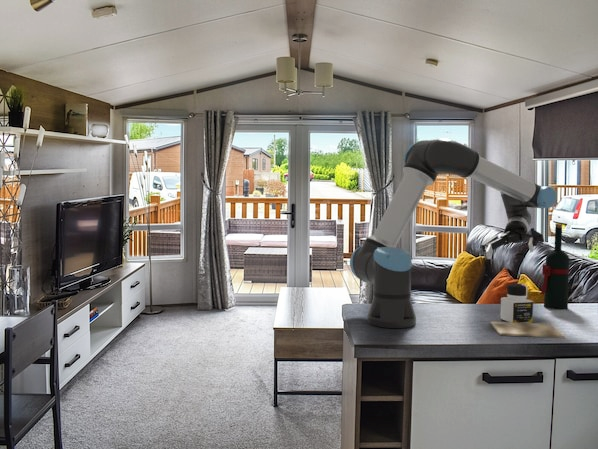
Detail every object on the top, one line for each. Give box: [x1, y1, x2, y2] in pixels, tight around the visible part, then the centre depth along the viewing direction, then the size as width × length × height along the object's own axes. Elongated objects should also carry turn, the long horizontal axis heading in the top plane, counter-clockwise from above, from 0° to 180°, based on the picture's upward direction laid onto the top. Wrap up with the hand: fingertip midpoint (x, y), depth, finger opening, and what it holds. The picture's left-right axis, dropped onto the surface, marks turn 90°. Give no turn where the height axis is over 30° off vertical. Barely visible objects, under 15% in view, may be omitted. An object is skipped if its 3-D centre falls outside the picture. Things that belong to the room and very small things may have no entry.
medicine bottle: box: [499, 282, 534, 323], centre depth 182 cm, size 7×7×12 cm
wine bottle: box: [539, 223, 570, 311], centre depth 202 cm, size 8×10×30 cm
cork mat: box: [490, 321, 566, 339], centre depth 171 cm, size 18×14×1 cm
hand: (508, 251), depth 185 cm, fingers open, 13 cm apart
